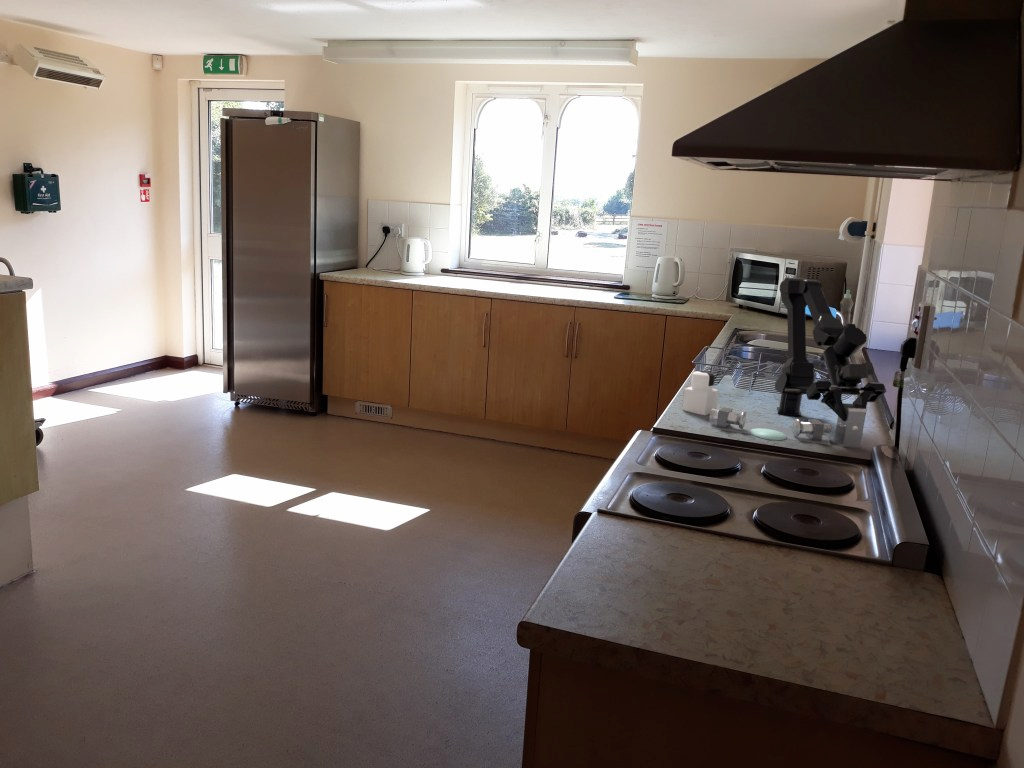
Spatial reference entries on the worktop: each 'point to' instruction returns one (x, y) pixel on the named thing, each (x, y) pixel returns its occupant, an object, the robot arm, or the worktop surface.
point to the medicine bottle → (700, 394)
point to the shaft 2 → (811, 429)
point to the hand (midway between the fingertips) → (854, 420)
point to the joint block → (850, 426)
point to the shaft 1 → (727, 418)
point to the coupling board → (768, 432)
